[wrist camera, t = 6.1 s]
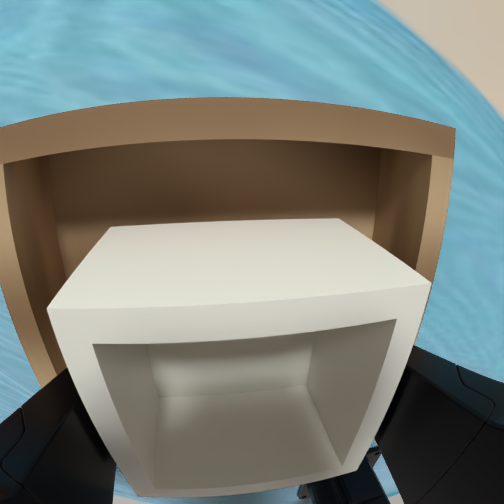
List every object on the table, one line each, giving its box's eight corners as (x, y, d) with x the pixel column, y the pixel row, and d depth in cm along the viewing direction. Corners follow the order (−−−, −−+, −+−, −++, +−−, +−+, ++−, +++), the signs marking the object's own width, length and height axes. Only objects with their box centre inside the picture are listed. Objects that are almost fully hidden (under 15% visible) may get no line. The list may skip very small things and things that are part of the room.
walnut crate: (353, 361, 16) (387, 412, 12) (89, 380, 13) (72, 440, 10) (389, 124, 11) (455, 128, 8) (37, 130, 9) (-24, 134, 5)
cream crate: (315, 382, 10) (356, 470, 7) (145, 396, 10) (137, 496, 6) (338, 218, 8) (431, 282, 5) (110, 227, 7) (46, 308, 4)
